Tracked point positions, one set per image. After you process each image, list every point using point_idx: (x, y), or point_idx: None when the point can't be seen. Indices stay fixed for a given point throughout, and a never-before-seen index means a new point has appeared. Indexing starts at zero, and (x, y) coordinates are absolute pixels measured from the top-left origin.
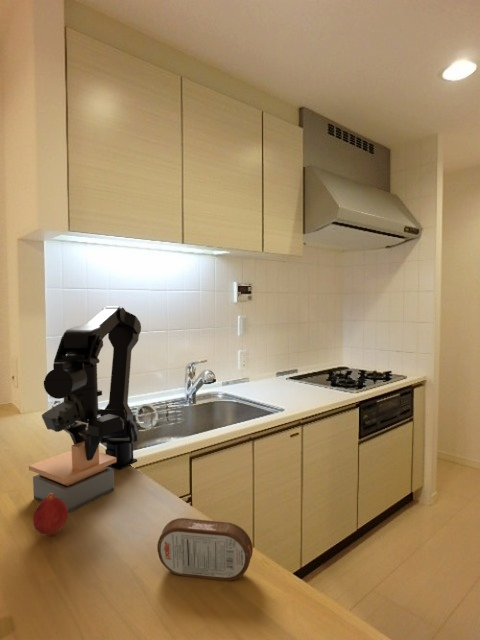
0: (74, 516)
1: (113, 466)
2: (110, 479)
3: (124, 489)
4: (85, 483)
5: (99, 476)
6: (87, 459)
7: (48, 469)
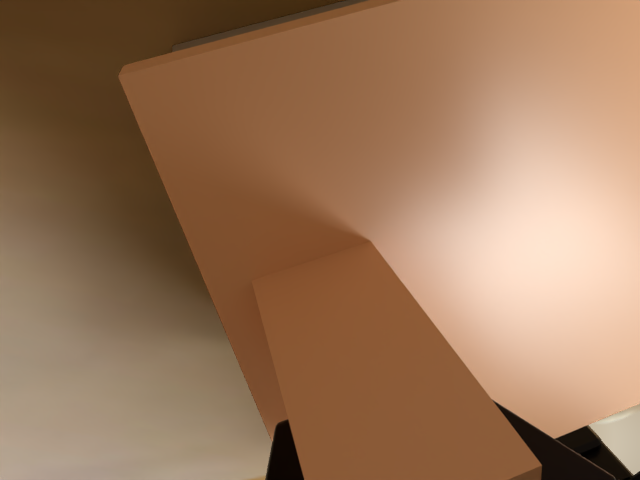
0: (105, 79)
1: None
2: None
3: None
4: None
5: None
6: (284, 428)
7: (561, 26)
